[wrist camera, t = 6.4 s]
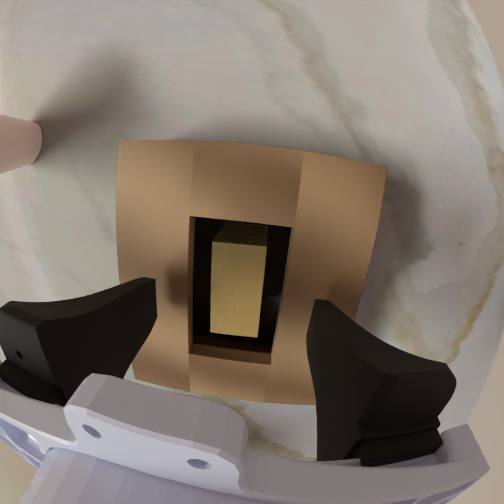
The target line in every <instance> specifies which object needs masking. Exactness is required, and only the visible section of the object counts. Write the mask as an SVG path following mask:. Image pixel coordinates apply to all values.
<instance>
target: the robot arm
mask: <svg viewBox="0 0 504 504" xmlns="http://www.w3.org/2000/svg"><path fill="white" fill-rule="evenodd" d="M157 317H158V315H157V299H156V279H154V278H148V277H141V278H137V279H134V280H131V281H128V282H125V283H123V284H120V285H117V286H115V287H112V288H109V289H106V290H103V291H100V292H97V293H94V294H91V295H87V296H83V297H79V298H74V299H68V300H61V301H54V302H19V301H10V302H8V303H6V304H5V305H4V306H2V307H1V308H0V345H1V348H2V350H3V352H4V354H5V357H6V360H5V361H4V362H3V363H2V362H1V360H0V439H1V440H2V441H3V442H4V443H5V444H7V445H8V446H9V447H10V448H11V449H12V450H14V451H15V452H16V453H17V454H18V455H20V456H21V457H22V458H23V459H25V460H26V461H27V462H28V463H30V464H31V465H32V466H34V467H35V468H36V469H38V471H37V473H36V474H35V476H34V478H33V479H32V481H31V483H30V485H29V487H28V488H27V490H26V492H25V494H24V496H23V498H22V499H21V501H20V503H19V504H446V503H448V502H450V501H451V500H453V499H454V498H456V497H457V496H458V495H460V494H461V493H462V492H464V491H465V490H467V489H468V488H469V487H470V486H472V485H473V484H474V483H475V482H477V481H478V480H479V479H480V478H481V477H483V476H484V475H485V474H486V473H487V472H488V471H489V469H490V468H489V466H488V464H487V461H486V459H485V457H484V455H483V453H482V451H481V449H480V447H479V445H478V443H477V441H476V439H475V437H474V435H473V433H472V431H471V430H470V428H469V426H468V424H464V425H461V426H458V427H455V428H451V429H448V430H446V431H444V432H443V433H441V434H439V432H438V430H437V428H438V427H439V426H440V421H439V419H438V416H439V414H440V413H441V411H442V410H443V409H444V407H445V406H446V405H447V403H448V402H449V400H450V399H451V397H452V395H453V393H454V391H455V388H456V378H455V376H454V375H453V373H452V372H451V370H450V369H449V367H448V366H447V364H446V363H441V362H437V361H433V360H429V359H425V358H421V357H418V356H415V355H412V354H410V353H407V352H405V351H402V350H400V349H398V348H396V347H393V346H391V345H389V344H387V343H385V342H384V341H382V340H380V339H379V338H377V337H375V336H374V335H372V334H370V333H369V332H368V331H366V330H365V329H363V328H362V327H361V326H359V325H358V324H357V323H355V322H354V321H353V320H352V319H351V318H349V317H348V316H347V315H346V314H345V313H343V312H342V311H341V310H340V309H339V308H338V307H337V306H335V305H334V304H333V303H332V302H330V301H329V300H322V299H315V300H314V305H313V309H312V314H311V318H310V322H309V326H308V330H307V334H306V348H307V357H308V362H309V367H310V372H311V377H312V382H313V387H314V392H315V399H316V413H317V462H311V461H304V460H298V459H293V458H287V457H282V456H278V455H273V454H268V453H264V452H260V451H256V450H252V449H248V448H247V445H248V435H249V430H248V427H247V424H246V421H245V419H244V418H243V417H241V416H240V415H239V414H237V413H236V412H235V411H233V410H232V409H231V408H229V407H228V406H226V405H223V404H220V403H217V402H214V401H211V400H207V399H204V398H198V397H193V396H188V395H183V394H178V393H174V392H169V391H165V390H161V389H157V388H153V387H149V386H145V385H141V384H138V383H134V382H131V381H127V380H124V379H123V378H124V376H125V374H126V371H127V370H128V368H129V366H130V364H131V363H132V361H133V360H134V358H135V357H136V355H137V353H138V352H139V350H140V349H141V347H142V346H143V344H144V343H145V341H146V339H147V338H148V336H149V335H150V333H151V331H152V329H153V327H154V324H155V322H156V320H157Z"/></svg>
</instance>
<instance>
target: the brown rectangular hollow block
mask: <svg viewBox="0 0 504 504" xmlns="http://www.w3.org/2000/svg"><path fill="white" fill-rule="evenodd" d="M386 174H387V167H385V166H381V165H377V164H373V163H368V162H364V161H359V160H354V159H349V158H344V157H339V156H333V155H327V154H322V153H316V152H309V151H303V150H296V149H288V148H280V147H272V146H263V145H253V144H242V143H228V142H212V141H186V140H140V141H119V144H118V158H117V178H116V234H117V255H118V269H119V280H120V284H123V283H125V282H128V281H131V280H134V279H137V278H141V277H148V278H154V279H156V299H157V315H158V317H157V320H156V322H155V324H154V327H153V329H152V331H151V333H150V335H149V336H148V338H147V339H146V341H145V343H144V344H143V346H142V347H141V349H140V350H139V352H138V353H137V355H136V357H135V358H134V360H133V361H132V366H133V371H134V375H135V379H138V380H141V381H145V382H149V383H153V384H157V385H161V386H165V387H170V388H174V389H179V390H184V391H189V392H194V393H199V394H205V395H211V396H217V397H224V398H231V399H238V400H247V401H256V402H267V403H280V404H299V405H316V399H315V392H314V387H313V382H312V377H311V372H310V367H309V362H308V357H307V348H306V334H307V330H308V326H309V322H310V318H311V314H312V309H313V305H314V300H315V299H322V300H329V301H330V302H332V303H333V304H334V305H335V306H337V307H338V308H339V309H340V310H341V311H342V312H343V313H345V314H346V315H347V316H348V317H349V318H351V319H352V320H353V321H354V319H355V315H356V312H357V309H358V305H359V302H360V298H361V295H362V291H363V288H364V284H365V280H366V276H367V272H368V268H369V264H370V260H371V256H372V251H373V247H374V242H375V238H376V233H377V228H378V223H379V218H380V212H381V206H382V201H383V194H384V188H385V181H386ZM195 217H205V218H215V219H225V220H234V221H243V222H252V223H261V224H270V225H278V226H286V227H292V229H291V236H290V243H289V250H288V256H287V263H286V269H285V276H284V282H283V288H282V294H281V300H280V306H279V312H278V318H277V324H276V329H275V335H274V340H273V346H271V345H261V344H252V343H244V342H236V341H228V340H221V339H215V338H208V337H202V336H196V335H193V255H194V230H195Z"/></svg>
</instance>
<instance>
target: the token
mask: <svg viewBox="0 0 504 504" xmlns="http://www.w3.org/2000/svg"><path fill="white" fill-rule="evenodd" d="M266 250H267V225H257V224H245V223H234V222H226V223H225V225H224V226H223V227H222V229H221V230H220V232H219V233H218V234H217V236H216V237H215V238H214V240H213V241H212V264H211V316H210V332H212V333H220V334H229V335H238V336H247V337H257V336H258V327H259V318H260V308H261V299H262V290H263V280H264V270H265V260H266Z"/></svg>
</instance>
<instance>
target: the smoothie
mask: <svg viewBox="0 0 504 504" xmlns="http://www.w3.org/2000/svg"><path fill="white" fill-rule="evenodd" d="M41 145H42V131H41V128H40V126H39V125H38V124H37V123H35V122H31V121H27V120H23V119H18V118H14V117H9V116H4V115H0V174H2V173H5V172H7V171H10V170H13V169H16V168H20V167H23V166H26V165H29V164H32V163H33V162H34V161H35V160H36V158H37V157H38V155H39V152H40V149H41Z"/></svg>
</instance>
